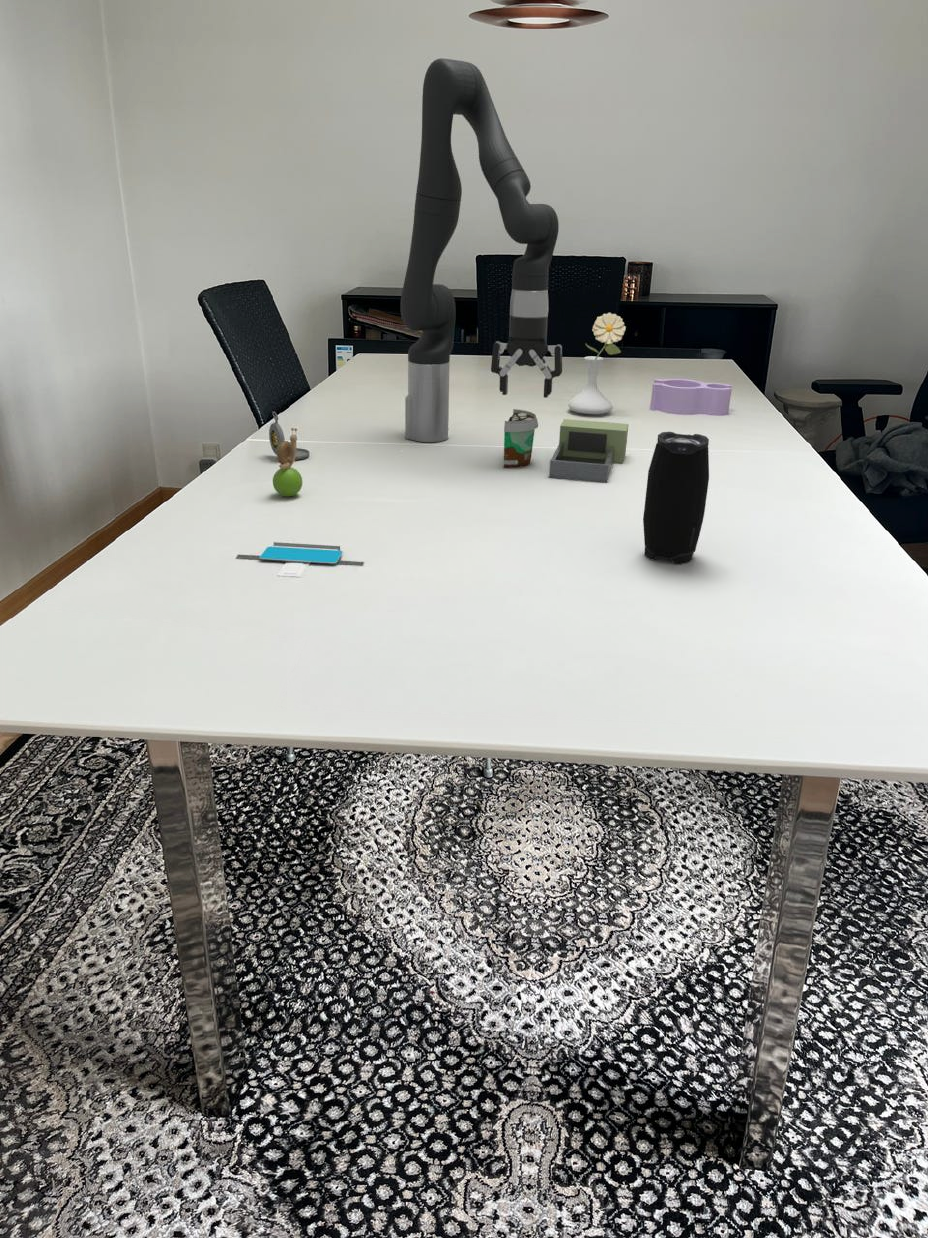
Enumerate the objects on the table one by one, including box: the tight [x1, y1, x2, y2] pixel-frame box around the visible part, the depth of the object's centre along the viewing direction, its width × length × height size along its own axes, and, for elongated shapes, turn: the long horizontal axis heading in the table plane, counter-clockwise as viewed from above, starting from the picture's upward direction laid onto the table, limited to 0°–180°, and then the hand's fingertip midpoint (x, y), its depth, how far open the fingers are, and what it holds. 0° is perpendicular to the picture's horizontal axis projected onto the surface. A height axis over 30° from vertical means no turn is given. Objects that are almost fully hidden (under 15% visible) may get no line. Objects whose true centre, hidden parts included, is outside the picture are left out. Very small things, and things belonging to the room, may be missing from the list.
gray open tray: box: [549, 442, 615, 484], centre depth 199 cm, size 12×15×4 cm
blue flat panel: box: [235, 541, 364, 578], centre depth 149 cm, size 20×12×2 cm, turn 85°
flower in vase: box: [567, 312, 627, 415], centre depth 242 cm, size 13×11×25 cm
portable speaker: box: [642, 431, 710, 565], centre depth 152 cm, size 9×9×20 cm
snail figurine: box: [272, 427, 303, 498], centre depth 177 cm, size 5×6×12 cm
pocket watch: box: [268, 411, 310, 460], centre depth 201 cm, size 8×8×10 cm
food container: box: [503, 408, 539, 469], centre depth 201 cm, size 12×6×10 cm, turn 168°
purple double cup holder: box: [649, 378, 733, 417], centre depth 252 cm, size 20×12×7 cm, turn 76°
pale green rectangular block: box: [558, 418, 629, 464], centre depth 208 cm, size 14×7×7 cm, turn 77°
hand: (525, 395), depth 197 cm, fingers open, 8 cm apart
